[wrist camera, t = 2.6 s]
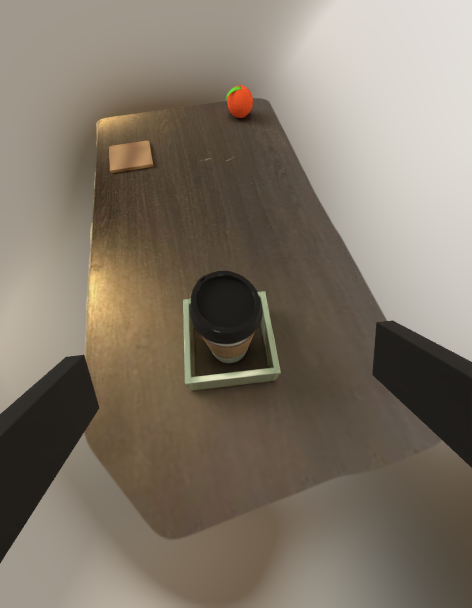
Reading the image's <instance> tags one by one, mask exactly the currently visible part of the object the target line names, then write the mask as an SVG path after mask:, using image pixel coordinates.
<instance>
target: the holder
mask: <svg viewBox="0 0 472 608" xmlns="http://www.w3.org/2000/svg"><path fill="white" fill-rule="evenodd" d="M258 295H259V297H260V299H261V302H262V307H263V313H262V318H261V322H260V324H261V330H262V335H263V341H264V347H265V353H266V358H267V364H268V368H266V369H257V370H249V371H240V372H231V373H223V374H214V375H206V376H197V377H196V371H195V346H194V325H193V323H192V320H191V315H190V304H191V299H189V300H188V299H186V300H183V314H184V362H185V384H186V385H187V387H188V388H189V389H190V390H191V391H193V390H201V389H210V388H218V387H227V386H235V385H243V384H252V383H260V382H269V381H276V379H277V378H278V376H279V375H280V373H281V372H280V366H279V361H278V356H277V351H276V346H275V341H274V336H273V331H272V326H271V320H270V315H269V310H268V305H267V300H266V295H265V291H264V292H258Z"/></svg>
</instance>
